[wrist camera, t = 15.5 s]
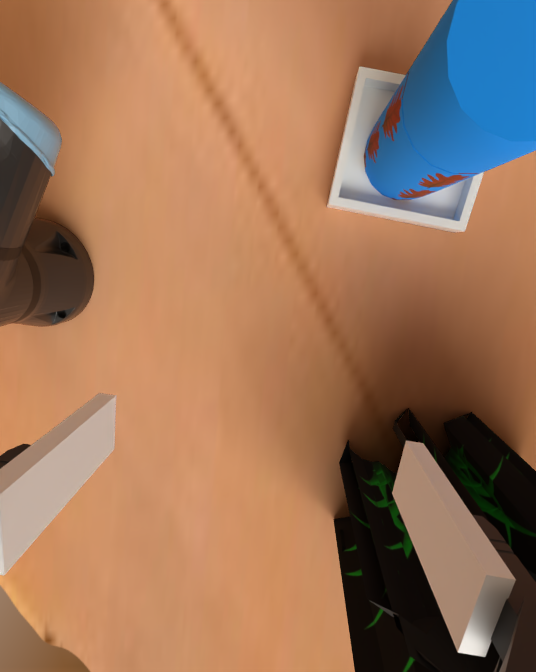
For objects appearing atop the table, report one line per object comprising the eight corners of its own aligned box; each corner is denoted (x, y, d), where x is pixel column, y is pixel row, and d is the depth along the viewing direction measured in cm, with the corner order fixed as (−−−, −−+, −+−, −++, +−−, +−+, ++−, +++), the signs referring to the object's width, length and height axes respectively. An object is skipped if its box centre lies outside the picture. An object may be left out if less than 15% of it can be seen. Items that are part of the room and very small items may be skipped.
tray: (326, 206, 47) (328, 204, 44) (355, 78, 43) (359, 66, 40) (454, 232, 46) (464, 231, 43) (494, 105, 43) (509, 94, 40)
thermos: (358, 201, 45) (431, 146, 21) (365, 107, 43) (455, -78, 19) (446, 201, 45) (626, 144, 20) (458, 106, 42) (679, -91, 18)
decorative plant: (328, 564, 60) (358, 859, 31) (337, 401, 53) (388, 585, 24) (505, 577, 58) (716, 905, 29) (540, 409, 51) (863, 620, 22)
